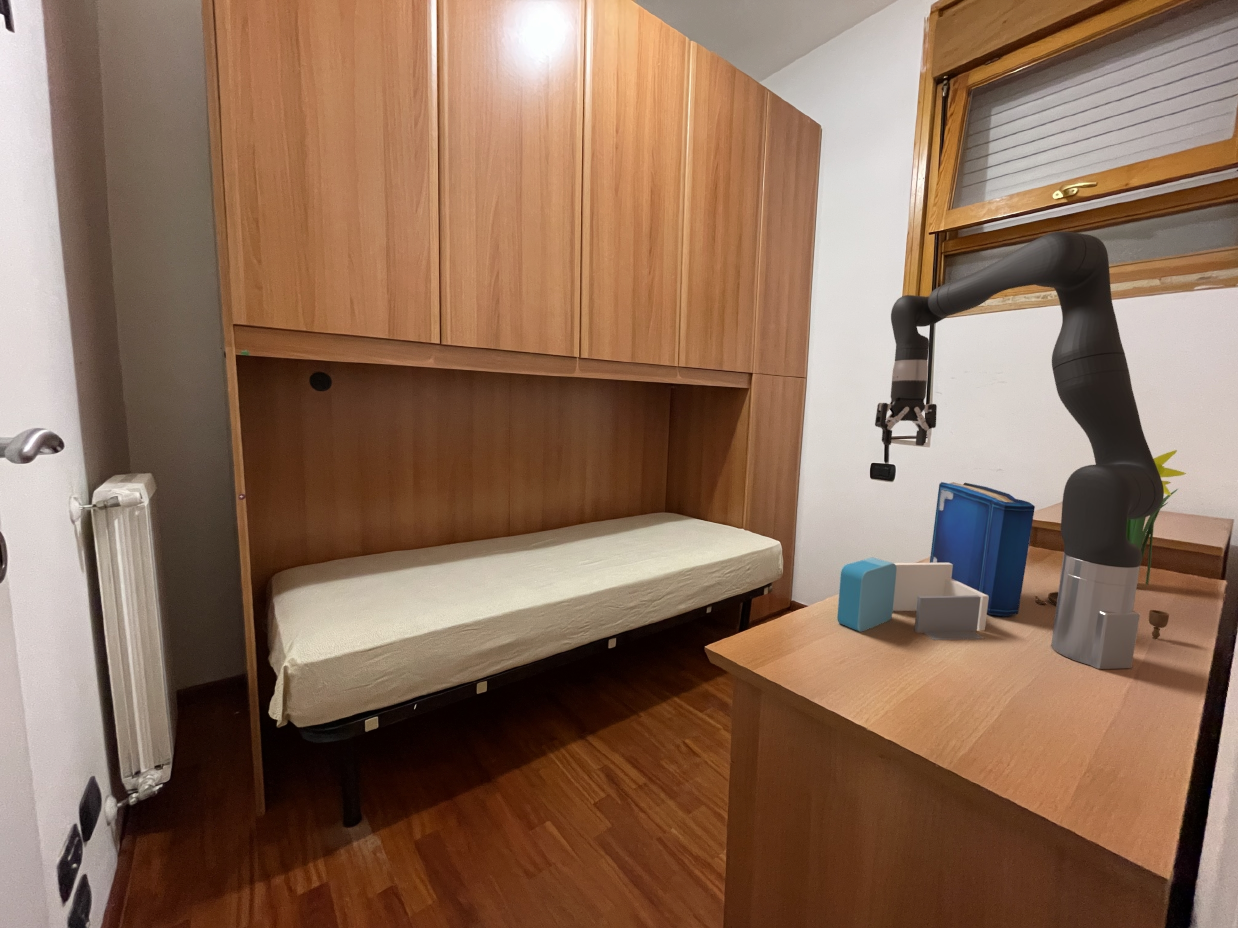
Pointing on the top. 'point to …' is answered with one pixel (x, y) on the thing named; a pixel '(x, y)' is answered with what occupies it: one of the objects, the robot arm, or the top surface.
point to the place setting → (1155, 616)
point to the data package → (866, 593)
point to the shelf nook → (939, 601)
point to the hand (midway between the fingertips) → (903, 445)
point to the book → (984, 541)
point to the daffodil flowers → (1136, 525)
